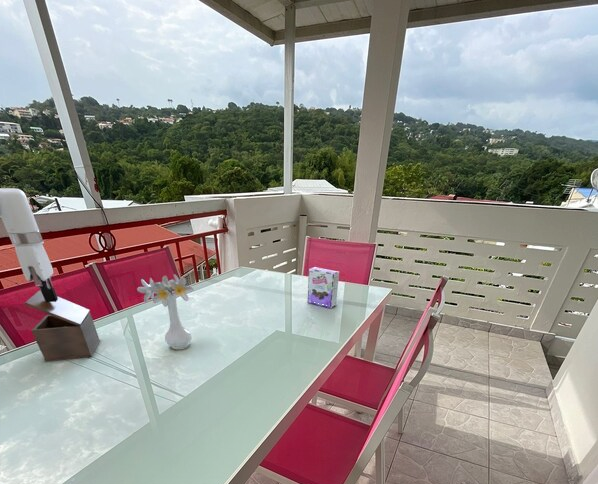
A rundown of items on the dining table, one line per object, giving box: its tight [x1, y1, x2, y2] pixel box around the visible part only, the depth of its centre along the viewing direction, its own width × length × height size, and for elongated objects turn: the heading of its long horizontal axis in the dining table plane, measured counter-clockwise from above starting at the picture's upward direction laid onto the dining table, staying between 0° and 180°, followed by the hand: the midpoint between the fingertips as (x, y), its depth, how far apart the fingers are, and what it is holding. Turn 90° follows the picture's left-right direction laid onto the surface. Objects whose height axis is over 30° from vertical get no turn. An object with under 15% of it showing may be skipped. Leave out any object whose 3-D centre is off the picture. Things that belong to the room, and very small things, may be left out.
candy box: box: [307, 266, 340, 309], centre depth 160 cm, size 14×6×16 cm, turn 55°
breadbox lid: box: [24, 289, 91, 326], centre depth 108 cm, size 15×14×1 cm
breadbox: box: [31, 311, 100, 362], centre depth 113 cm, size 14×14×11 cm
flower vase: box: [136, 273, 194, 351], centre depth 114 cm, size 13×18×25 cm
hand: (52, 300), depth 106 cm, fingers closed
